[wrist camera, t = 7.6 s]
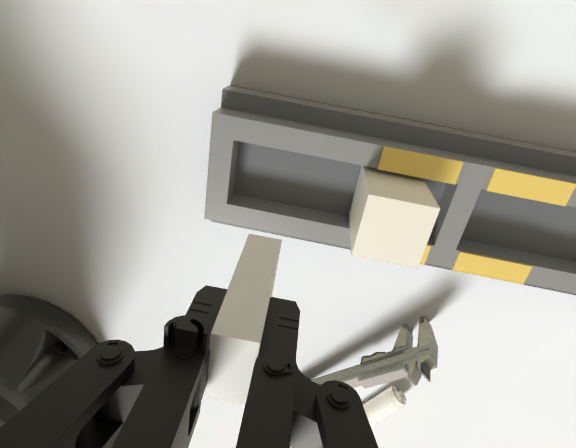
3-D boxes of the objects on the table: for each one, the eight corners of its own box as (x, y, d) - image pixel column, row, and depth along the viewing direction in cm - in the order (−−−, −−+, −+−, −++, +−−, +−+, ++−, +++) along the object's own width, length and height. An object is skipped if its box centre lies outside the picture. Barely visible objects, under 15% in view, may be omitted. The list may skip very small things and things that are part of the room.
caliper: (423, 312, 35) (439, 366, 29) (429, 320, 35) (447, 375, 30) (255, 399, 42) (242, 455, 37) (262, 405, 43) (250, 461, 37)
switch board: (218, 210, 32) (202, 234, 29) (229, 85, 28) (213, 93, 24) (631, 294, 31) (670, 329, 28) (712, 178, 27) (772, 201, 23)
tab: (348, 213, 29) (351, 255, 23) (362, 162, 27) (368, 194, 22) (402, 224, 29) (417, 268, 23) (419, 173, 27) (440, 208, 22)
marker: (290, 465, 47) (288, 485, 44) (277, 456, 46) (274, 476, 44) (405, 391, 39) (408, 411, 37) (390, 380, 39) (393, 400, 37)
